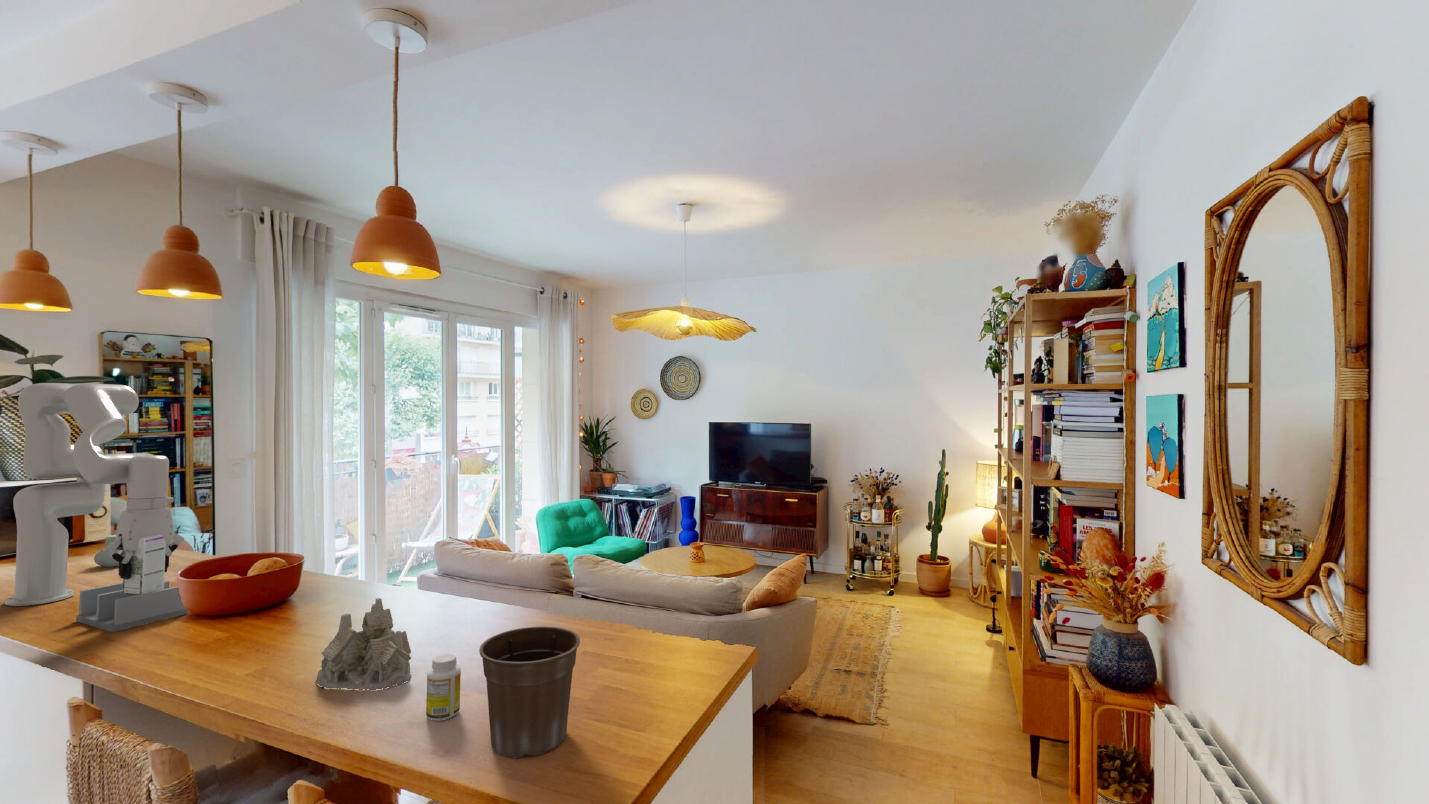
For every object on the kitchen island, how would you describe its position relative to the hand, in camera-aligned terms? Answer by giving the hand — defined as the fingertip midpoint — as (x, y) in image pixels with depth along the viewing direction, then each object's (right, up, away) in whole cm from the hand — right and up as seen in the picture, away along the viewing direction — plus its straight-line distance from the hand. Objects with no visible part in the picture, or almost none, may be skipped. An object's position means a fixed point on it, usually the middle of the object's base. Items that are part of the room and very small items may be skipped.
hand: (144, 574), depth 152 cm
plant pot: (+113, -13, -51) cm, 125 cm away
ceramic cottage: (+73, -13, -30) cm, 80 cm away
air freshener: (-57, -11, +50) cm, 76 cm away
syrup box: (0, -5, 0) cm, 5 cm away
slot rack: (-4, -11, +1) cm, 12 cm away
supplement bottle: (+95, -13, -44) cm, 106 cm away
